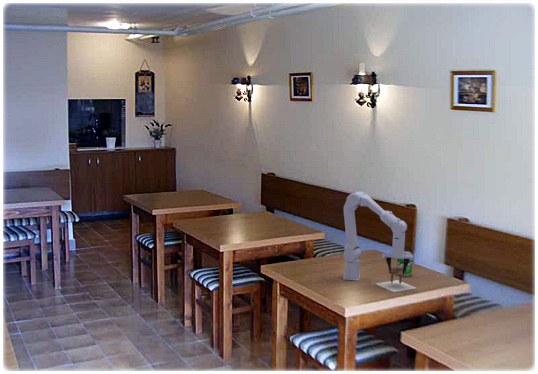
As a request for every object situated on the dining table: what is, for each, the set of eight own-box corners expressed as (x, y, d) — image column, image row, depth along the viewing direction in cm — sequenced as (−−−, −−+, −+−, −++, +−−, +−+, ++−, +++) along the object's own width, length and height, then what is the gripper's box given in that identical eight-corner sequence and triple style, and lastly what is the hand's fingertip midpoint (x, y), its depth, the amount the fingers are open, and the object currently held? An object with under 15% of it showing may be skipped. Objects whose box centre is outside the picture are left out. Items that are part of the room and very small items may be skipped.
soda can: (393, 273, 338) (394, 251, 336) (404, 272, 341) (406, 249, 340) (402, 277, 331) (404, 254, 330) (414, 276, 335) (415, 253, 333)
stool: (389, 282, 311) (390, 271, 311) (390, 277, 320) (391, 266, 319) (401, 283, 310) (402, 272, 309) (402, 278, 319) (402, 267, 318)
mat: (375, 284, 319) (375, 283, 318) (397, 281, 325) (397, 280, 325) (393, 292, 306) (393, 291, 306) (416, 288, 313) (416, 287, 313)
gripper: (382, 246, 310) (381, 274, 312) (413, 249, 308) (412, 276, 310) (383, 243, 317) (381, 270, 319) (413, 245, 314) (411, 272, 316)
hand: (396, 273), depth 315 cm, fingers closed on stool, 6 cm apart
